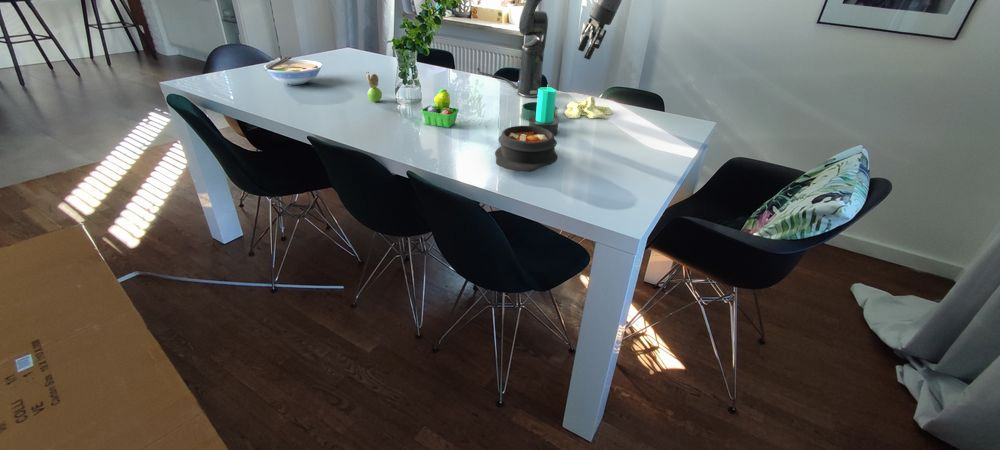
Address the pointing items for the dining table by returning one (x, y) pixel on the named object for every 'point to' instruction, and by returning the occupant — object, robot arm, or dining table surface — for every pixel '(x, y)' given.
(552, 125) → the stand
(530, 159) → the casserole
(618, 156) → the dining table surface
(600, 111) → the cloth
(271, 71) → the ramen bowl
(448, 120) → the fruit basket
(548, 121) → the candle
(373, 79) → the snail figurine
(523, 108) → the tin
